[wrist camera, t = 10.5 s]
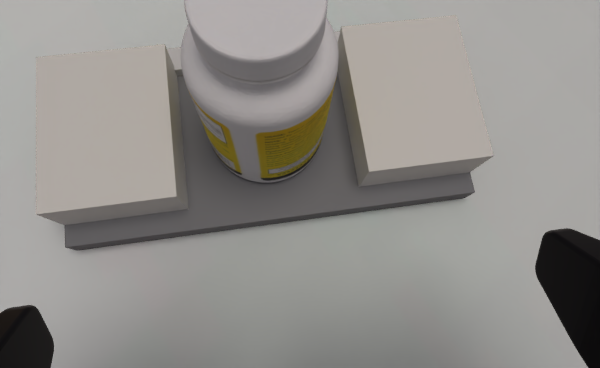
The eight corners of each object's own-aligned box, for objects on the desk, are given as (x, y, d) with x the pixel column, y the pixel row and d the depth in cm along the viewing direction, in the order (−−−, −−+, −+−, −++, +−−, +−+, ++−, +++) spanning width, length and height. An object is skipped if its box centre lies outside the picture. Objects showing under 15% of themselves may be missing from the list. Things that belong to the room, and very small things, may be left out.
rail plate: (426, 40, 25) (451, -4, 21) (464, 197, 23) (499, 178, 19) (73, 77, 23) (36, 37, 20) (76, 250, 21) (36, 239, 18)
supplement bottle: (334, 96, 22) (374, -55, 13) (305, 198, 21) (327, 111, 12) (229, 68, 23) (194, -103, 13) (194, 167, 21) (126, 56, 12)
